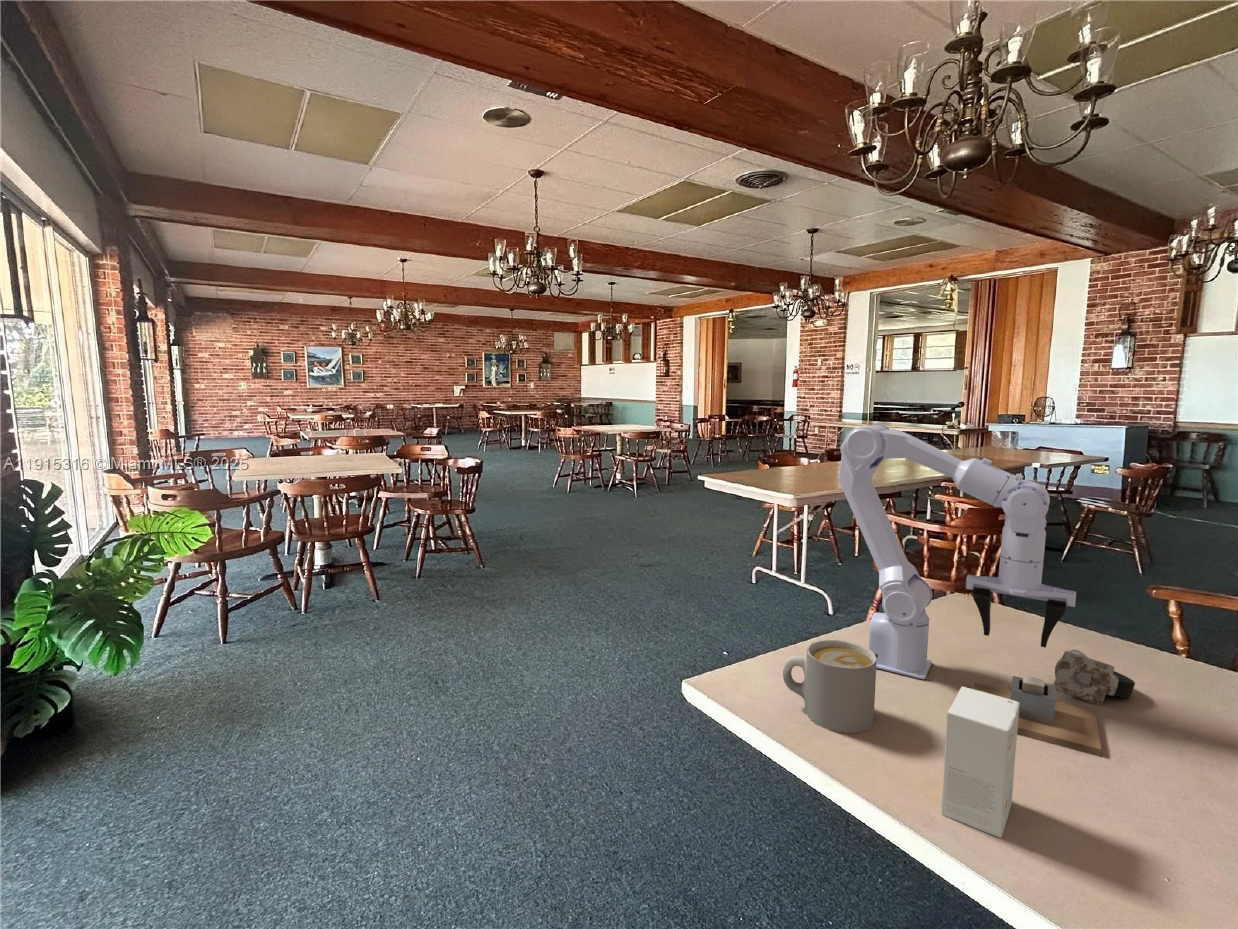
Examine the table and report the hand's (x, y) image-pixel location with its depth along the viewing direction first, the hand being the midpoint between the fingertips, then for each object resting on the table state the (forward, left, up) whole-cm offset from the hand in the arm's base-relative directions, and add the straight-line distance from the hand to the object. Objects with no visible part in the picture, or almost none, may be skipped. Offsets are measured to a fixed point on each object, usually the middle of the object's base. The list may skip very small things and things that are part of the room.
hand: (1014, 639), depth 98 cm
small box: (-2, -34, -10) cm, 35 cm away
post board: (+3, -7, -9) cm, 12 cm away
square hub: (+3, -7, -8) cm, 11 cm away
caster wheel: (+11, +8, -10) cm, 17 cm away
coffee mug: (-23, -22, -10) cm, 33 cm away
